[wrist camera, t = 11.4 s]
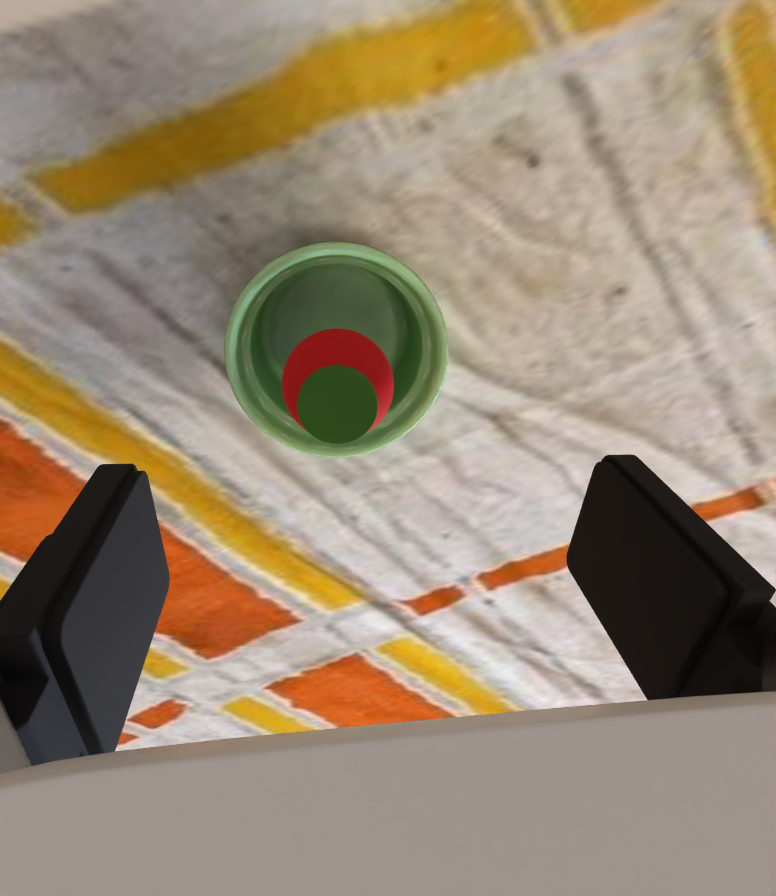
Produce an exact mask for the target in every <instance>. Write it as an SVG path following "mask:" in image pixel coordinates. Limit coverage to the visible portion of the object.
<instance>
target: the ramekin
mask: <svg viewBox="0 0 776 896" xmlns="http://www.w3.org/2000/svg"><path fill="white" fill-rule="evenodd" d="M336 328H340V329H348V330H352V331H355V332H358V333H360V334H362V335H364V336H366V337H368V338H369V339H371V340H372V341H373V342H374V343H375V344H377V345H378V346H379V348H380V349H381V350H382V351H383V353H384V354H385V356H386V357H387V359H388V361H389V364H390V366H391V369H392V373H393V379H394V392H393V398H392V401H391V404H390V407H389V409H388V411H387V413H386V415H385V416H384V418H383V419H382V420H381V422H380V423H379V424H378V425H377V426H376V427H375V428H373V429H372V430H371V431H370V432H368V433H366V434H365V435H364V436H362V437H361V438H359V439H357V440H355V441H353V442H350V443H345V444H331V443H326V442H323V441H321V440H318V439H317V438H315V437H313V436H312V435H311V434H310V433H309V432H307V431H306V430H305V429H303V428H302V427H301V426H300V425H299V424H298V423H297V422H296V421H295V420H294V418H293V417H292V416H291V414H290V413H289V411H288V409H287V407H286V404H285V401H284V398H283V394H282V375H283V370H284V367H285V363H286V361H287V359H288V357H289V356H290V354H291V353H292V351H293V350H294V348H295V347H296V346H297V345H298V344H299V343H300V342H301V341H303V340H304V339H305V338H307V337H308V336H310V335H312V334H314V333H316V332H319V331H322V330H327V329H336ZM224 355H225V365H226V371H227V375H228V379H229V382H230V385H231V388H232V390H233V393H234V395H235V397H236V399H237V401H238V402H239V404H240V406H241V407H242V409H243V410H244V411H245V413H246V414H247V415H248V417H249V418H250V419H251V420H252V421H253V422H254V423H255V424H256V425H257V426H258V427H259V428H260V429H261V430H262V431H264V432H265V433H266V434H268V435H269V436H270V437H272V438H273V439H275V440H276V441H278V442H280V443H282V444H284V445H286V446H288V447H290V448H292V449H295V450H297V451H300V452H303V453H307V454H311V455H316V456H322V457H335V458H337V457H350V456H356V455H361V454H365V453H369V452H372V451H375V450H377V449H380V448H382V447H385V446H386V445H388V444H390V443H392V442H394V441H396V440H397V439H399V438H400V437H402V436H403V435H405V434H406V433H407V432H409V431H410V430H411V429H412V428H413V427H414V426H415V425H416V424H418V423H419V422H420V420H421V419H422V418H423V417H424V416H425V415H426V413H427V412H428V411H429V409H430V408H431V406H432V405H433V403H434V401H435V400H436V398H437V396H438V394H439V391H440V389H441V387H442V384H443V381H444V378H445V374H446V370H447V363H448V337H447V331H446V326H445V322H444V319H443V316H442V313H441V311H440V308H439V306H438V304H437V302H436V300H435V298H434V297H433V295H432V293H431V292H430V290H429V289H428V288H427V286H426V285H425V284H424V283H423V281H422V280H421V279H420V278H419V277H418V276H417V275H416V274H415V273H414V272H413V271H412V270H411V269H410V268H408V267H407V266H406V265H405V264H403V263H402V262H400V261H399V260H397V259H396V258H394V257H392V256H390V255H388V254H387V253H385V252H382V251H380V250H377V249H374V248H372V247H369V246H365V245H361V244H356V243H350V242H322V243H315V244H310V245H306V246H303V247H300V248H297V249H294V250H292V251H289V252H287V253H285V254H283V255H281V256H279V257H278V258H276V259H274V260H273V261H271V262H270V263H269V264H267V265H266V266H265V267H263V268H262V269H261V270H260V271H259V272H258V273H257V274H256V275H255V276H254V277H253V278H252V279H251V280H250V281H249V282H248V284H247V285H246V286H245V288H244V289H243V291H242V292H241V294H240V295H239V297H238V299H237V300H236V302H235V305H234V307H233V309H232V311H231V314H230V317H229V320H228V324H227V328H226V334H225V342H224Z"/></svg>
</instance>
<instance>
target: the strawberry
mask: <svg viewBox="0 0 776 896" xmlns="http://www.w3.org/2000/svg"><path fill="white" fill-rule="evenodd" d="M393 392H394V379H393V373H392V369H391V366H390V364H389V361H388V359H387V357H386V356H385V354H384V353H383V351H382V350H381V349H380V348H379V346H378V345H377V344H375V343H374V342H373V341H372V340H371V339H369V338H368V337H366V336H364V335H362V334H360V333H358V332H355V331H352V330H348V329H340V328H336V329H327V330H322V331H319V332H316V333H314V334H312V335H310V336H308V337H307V338H305V339H304V340H303V341H301V342H300V343H299V344H298V345H297V346H296V347H295V348H294V350H293V351H292V353H291V354H290V356H289V357H288V359H287V361H286V363H285V367H284V370H283V375H282V394H283V398H284V401H285V404H286V407H287V409H288V411H289V413H290V414H291V416H292V417H293V418H294V420H295V421H296V422H297V423H298V424H299V425H300V426H301V427H302V428H303V429H305V430H306V431H307V432H309V433H310V434H311V435H312V436H313V437H315V438H317V439H318V440H321V441H323V442H326V443H331V444H345V443H350V442H353V441H355V440H357V439H359V438H361V437H362V436H364V435H365V434H366V433H368V432H370V431H371V430H372V429H373V428H375V427H376V426H377V425H378V424H379V423H380V422H381V420H382V419H383V418H384V416H385V415H386V413H387V411H388V409H389V407H390V404H391V401H392V398H393Z"/></svg>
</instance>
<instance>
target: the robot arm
mask: <svg viewBox="0 0 776 896" xmlns="http://www.w3.org/2000/svg"><path fill="white" fill-rule="evenodd" d="M567 565H568V569H569V571H570V572H571V574H572V576H573V577H574V579H575V581H576V582H577V584H578V586H579V587H580V589H581V591H582V592H583V594H584V596H585V597H586V599H587V601H588V602H589V604H590V606H591V607H592V609H593V610H594V612H595V614H596V615H597V617H598V619H599V620H600V622H601V624H602V625H603V627H604V629H605V630H606V632H607V634H608V635H609V637H610V639H611V640H612V642H613V644H614V645H615V647H616V649H617V650H618V652H619V653H620V655H621V657H622V658H623V660H624V662H625V663H626V665H627V667H628V668H629V670H630V672H631V673H632V675H633V677H634V678H635V680H636V682H637V683H638V685H639V687H640V688H641V690H642V692H643V693H644V695H645V697H646V698H647V699H648V700H646V701H634V702H623V703H611V704H599V705H587V706H576V707H564V708H552V709H541V710H530V711H519V712H508V713H497V714H486V715H474V716H463V717H453V718H442V719H431V720H420V721H409V722H398V723H387V724H376V725H366V726H356V727H345V728H335V729H325V730H314V731H304V732H294V733H283V734H273V735H262V736H252V737H242V738H231V739H221V740H212V741H204V742H195V743H186V744H177V745H168V746H159V747H150V748H142V749H133V750H124V751H115V749H116V747H117V744H118V741H119V738H120V735H121V732H122V729H123V726H124V723H125V720H126V717H127V714H128V711H129V708H130V705H131V702H132V699H133V695H134V692H135V689H136V686H137V683H138V680H139V677H140V674H141V671H142V668H143V665H144V662H145V659H146V656H147V653H148V650H149V647H150V644H151V641H152V638H153V635H154V632H155V629H156V626H157V623H158V620H159V617H160V614H161V611H162V608H163V605H164V601H165V598H166V595H167V592H168V589H169V570H168V565H167V561H166V556H165V552H164V547H163V543H162V538H161V534H160V529H159V525H158V520H157V516H156V511H155V507H154V502H153V498H152V493H151V489H150V484H149V480H148V476H147V474H146V472H145V471H138V470H137V468H136V466H135V465H134V464H102V465H99V466H98V468H97V469H96V470H95V472H94V473H93V475H92V476H91V478H90V479H89V481H88V482H87V484H86V485H85V487H84V488H83V489H82V491H81V492H80V494H79V495H78V497H77V498H76V500H75V501H74V503H73V504H72V506H71V507H70V509H69V510H68V512H67V513H66V515H65V516H64V518H63V519H62V520H61V522H60V523H59V525H58V526H57V528H56V529H55V531H54V532H53V534H51V535H48V536H46V537H45V539H44V540H43V541H42V542H41V543H40V544H39V546H38V547H37V549H36V550H35V552H34V553H33V555H32V556H31V557H30V559H29V560H28V562H27V563H26V565H25V566H24V568H23V569H22V570H21V572H20V573H19V575H18V576H17V578H16V579H15V581H14V582H13V583H12V585H11V586H10V588H9V589H8V591H7V592H6V594H5V595H4V596H3V598H2V599H1V601H0V896H776V607H775V606H774V605H773V604H772V603H771V602H770V599H771V598H772V596H773V594H774V593H775V591H776V589H775V588H774V587H773V586H772V585H771V584H770V583H769V582H768V581H767V580H766V579H764V578H763V577H762V576H761V575H760V574H759V573H758V572H757V571H756V570H755V569H754V568H753V567H752V566H751V565H750V564H749V563H748V562H747V561H746V560H745V559H744V558H743V557H741V556H740V555H739V554H738V553H737V552H736V551H735V550H734V549H733V548H732V547H731V546H730V545H729V544H728V543H727V542H726V541H725V540H724V539H723V538H722V537H721V536H719V535H718V534H717V533H716V532H715V531H714V530H713V529H712V528H711V527H710V526H709V525H708V524H707V523H706V522H705V521H704V520H703V519H702V518H701V517H700V516H699V515H698V514H696V513H695V512H694V511H693V510H692V509H691V508H690V507H689V506H688V505H687V504H686V503H685V502H684V501H683V500H682V499H681V498H680V497H679V496H678V495H677V494H676V493H674V492H673V491H672V490H671V489H670V488H669V487H668V486H667V485H666V484H665V483H664V482H663V481H662V480H661V479H660V478H659V477H658V476H657V475H656V474H655V473H654V472H652V471H651V470H650V469H649V468H648V467H647V466H646V465H645V464H644V463H643V462H642V461H641V460H640V459H639V458H638V457H636V456H635V455H607V456H605V457H604V458H603V459H602V461H601V462H598V463H597V464H596V465H595V467H594V469H593V472H592V476H591V479H590V482H589V485H588V488H587V492H586V495H585V498H584V501H583V504H582V507H581V511H580V514H579V517H578V520H577V523H576V527H575V530H574V533H573V536H572V539H571V543H570V546H569V549H568V552H567ZM114 751H115V752H114Z"/></svg>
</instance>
